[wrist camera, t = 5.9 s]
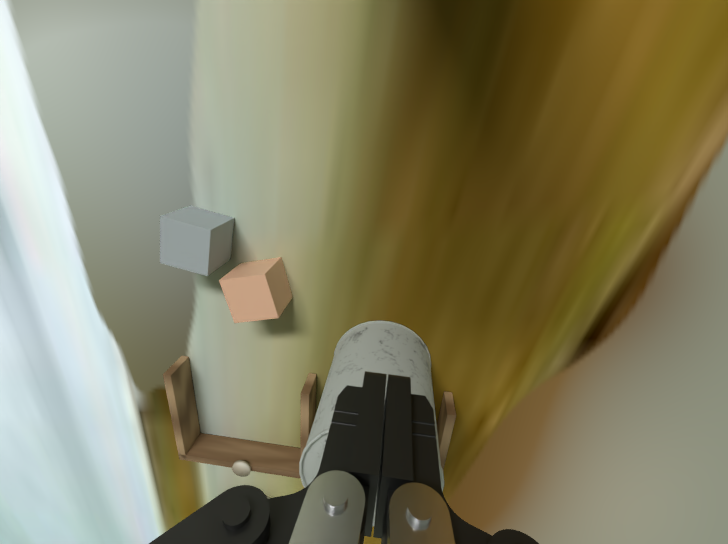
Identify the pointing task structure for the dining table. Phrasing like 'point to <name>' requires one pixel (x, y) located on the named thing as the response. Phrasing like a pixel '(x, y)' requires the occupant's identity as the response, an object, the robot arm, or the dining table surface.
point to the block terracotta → (257, 290)
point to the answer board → (253, 453)
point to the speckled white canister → (351, 359)
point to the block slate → (195, 239)
